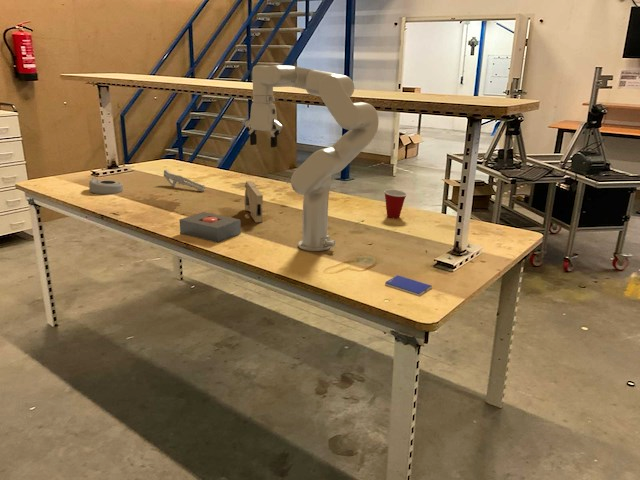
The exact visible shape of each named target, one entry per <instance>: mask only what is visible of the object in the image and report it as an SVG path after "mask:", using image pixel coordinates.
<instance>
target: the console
mask: <svg viewBox="0 0 640 480" xmlns="http://www.w3.org/2000/svg"><path fill="white" fill-rule="evenodd" d="M206 217H215V218H217V219H218V221H215V222H212V223H208V222H204V221H203V220H202V219H203V218H206ZM241 226H242V225H241V219H239V218H234V217H229V216H224V215H220V214H216V213H215V214H214V213H210V212H205V211H202V212H198V213H196V214H192V215H190V216H186V217H183V218H180V219H179V232H180V235H183V236H188V237H193V238H196V239H200V240H201V239H202V240H204V241H205V240H206V241H209V242H213V243H221V242H223V241H227V240H228V239H232V238H233V237H235V236H239V235H240V234H242V232H241Z"/></svg>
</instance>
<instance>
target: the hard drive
mask: <svg viewBox="0 0 640 480" xmlns="http://www.w3.org/2000/svg"><path fill="white" fill-rule="evenodd" d="M384 285H385V286H387V287H390V288H393V289H397V290H401V291H403V292H405V293H410V294H413V295H415V296H416V295H417V296H418V297H419V296H421V295H424V293H426V292H428V291H429V290H431V289H432V284H427V283H425V282H421V281H418V280H414V279H411V278H407V277H405V276H401V275H398V274H397V275H395V276H394V277H392V278H391V279H388V280H386V281H385V284H384Z"/></svg>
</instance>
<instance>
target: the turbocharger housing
mask: <svg viewBox="0 0 640 480" xmlns="http://www.w3.org/2000/svg"><path fill="white" fill-rule="evenodd" d="M88 184H89V186H88V187H89V191H90V192H91V193H93V194H97V195H113V194H119V193H121V192H123V191H124V185H123V183H122V182H121V181H116V180H110V179H103V180H98V178H97V177H93V178H91V180H89V182H88Z"/></svg>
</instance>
